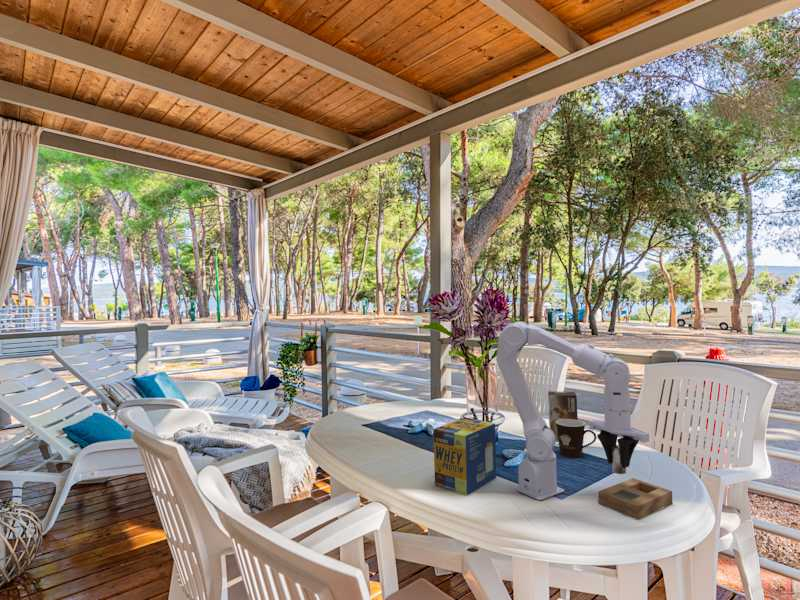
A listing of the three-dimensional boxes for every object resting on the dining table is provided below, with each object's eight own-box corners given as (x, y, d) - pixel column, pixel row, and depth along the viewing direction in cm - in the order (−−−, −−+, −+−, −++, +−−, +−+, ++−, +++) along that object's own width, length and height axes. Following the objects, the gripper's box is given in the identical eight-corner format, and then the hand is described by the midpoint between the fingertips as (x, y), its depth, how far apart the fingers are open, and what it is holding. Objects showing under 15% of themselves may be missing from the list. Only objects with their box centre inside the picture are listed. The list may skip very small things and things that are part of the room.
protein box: (434, 486, 129) (432, 428, 128) (466, 469, 140) (464, 416, 140) (466, 496, 122) (465, 435, 122) (497, 477, 133) (496, 422, 133)
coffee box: (576, 437, 168) (575, 391, 167) (578, 442, 161) (577, 395, 161) (549, 435, 170) (548, 390, 170) (550, 441, 164) (549, 394, 163)
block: (638, 519, 107) (637, 506, 107) (598, 503, 115) (598, 491, 115) (672, 503, 114) (672, 491, 114) (632, 489, 123) (632, 478, 123)
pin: (621, 475, 114) (621, 449, 114) (609, 471, 117) (609, 446, 117) (628, 472, 116) (627, 447, 116) (616, 468, 118) (616, 444, 118)
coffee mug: (550, 452, 153) (550, 421, 153) (572, 448, 156) (571, 417, 156) (576, 464, 142) (575, 430, 142) (599, 459, 145) (598, 426, 145)
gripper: (655, 411, 112) (657, 469, 112) (600, 401, 124) (601, 453, 124) (638, 416, 108) (640, 476, 108) (583, 405, 120) (584, 459, 121)
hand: (618, 464), depth 116 cm, fingers closed on pin, 3 cm apart
